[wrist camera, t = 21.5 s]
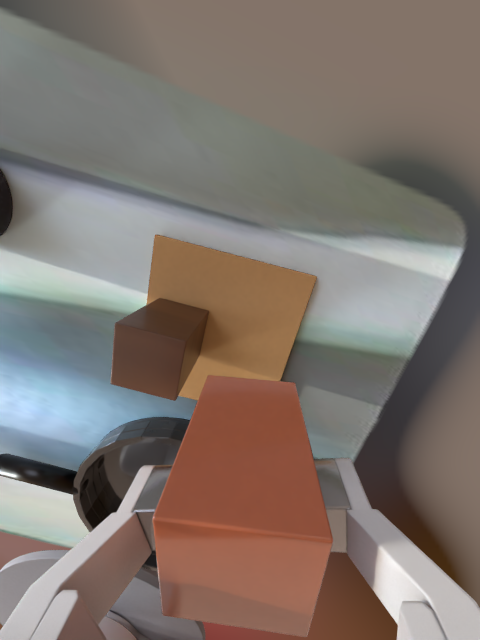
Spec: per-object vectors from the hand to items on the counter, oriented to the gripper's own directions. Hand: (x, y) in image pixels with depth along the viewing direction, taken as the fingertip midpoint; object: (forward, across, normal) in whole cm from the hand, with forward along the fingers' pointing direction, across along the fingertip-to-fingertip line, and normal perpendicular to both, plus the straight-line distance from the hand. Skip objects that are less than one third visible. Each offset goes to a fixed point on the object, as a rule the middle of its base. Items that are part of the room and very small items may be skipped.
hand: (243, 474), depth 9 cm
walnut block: (+11, +6, -2) cm, 13 cm away
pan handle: (+12, +23, +11) cm, 28 cm away
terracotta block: (+3, 0, 0) cm, 3 cm away
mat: (+12, +3, -1) cm, 12 cm away
